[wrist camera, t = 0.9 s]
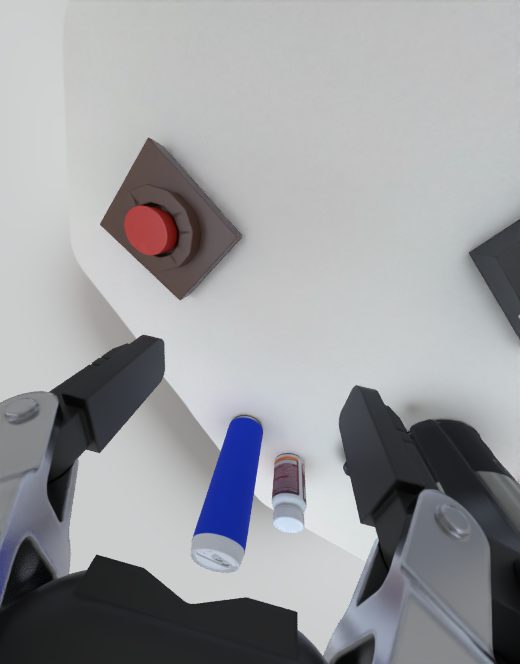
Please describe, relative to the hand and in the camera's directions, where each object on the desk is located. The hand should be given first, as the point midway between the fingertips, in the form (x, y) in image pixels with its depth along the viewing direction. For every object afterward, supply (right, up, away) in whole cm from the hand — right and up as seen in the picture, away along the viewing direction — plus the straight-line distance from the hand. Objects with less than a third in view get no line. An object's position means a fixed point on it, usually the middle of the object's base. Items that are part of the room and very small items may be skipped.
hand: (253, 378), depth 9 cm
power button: (-9, +11, +10) cm, 17 cm away
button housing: (-8, +12, +13) cm, 20 cm away
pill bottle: (+5, -19, +27) cm, 33 cm away
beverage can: (-2, -12, +24) cm, 27 cm away
